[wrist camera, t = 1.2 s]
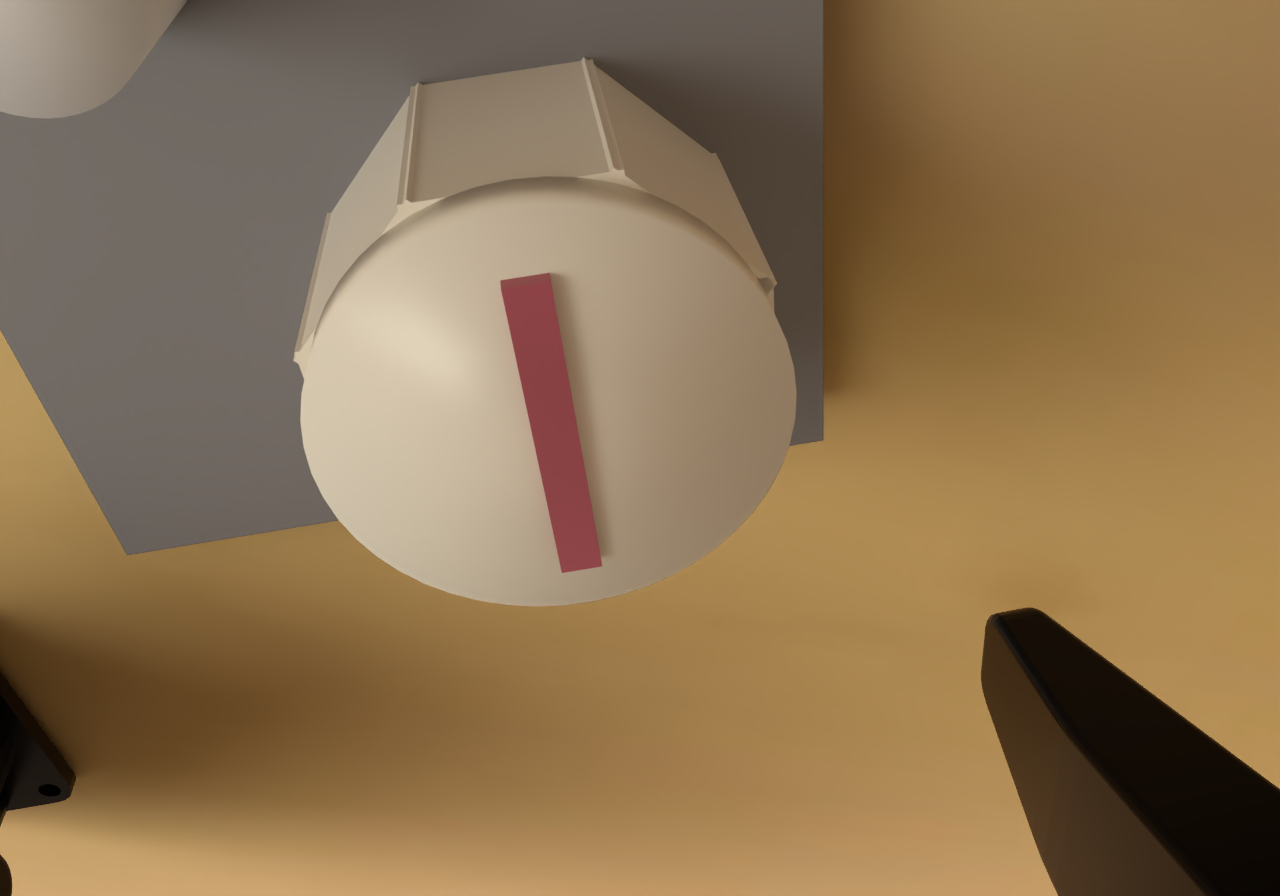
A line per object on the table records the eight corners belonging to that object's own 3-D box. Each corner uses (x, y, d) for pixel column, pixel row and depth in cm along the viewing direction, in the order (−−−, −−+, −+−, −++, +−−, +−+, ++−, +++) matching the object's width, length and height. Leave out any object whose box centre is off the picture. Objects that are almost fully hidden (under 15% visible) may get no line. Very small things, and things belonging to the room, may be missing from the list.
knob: (736, 385, 20) (803, 576, 16) (393, 441, 20) (374, 647, 16) (714, 33, 16) (795, 171, 12) (284, 99, 16) (223, 261, 12)
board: (805, 398, 23) (875, 560, 19) (145, 505, 22) (76, 695, 18) (789, -677, 13) (932, -808, 9) (-399, -526, 12) (-800, -592, 8)
